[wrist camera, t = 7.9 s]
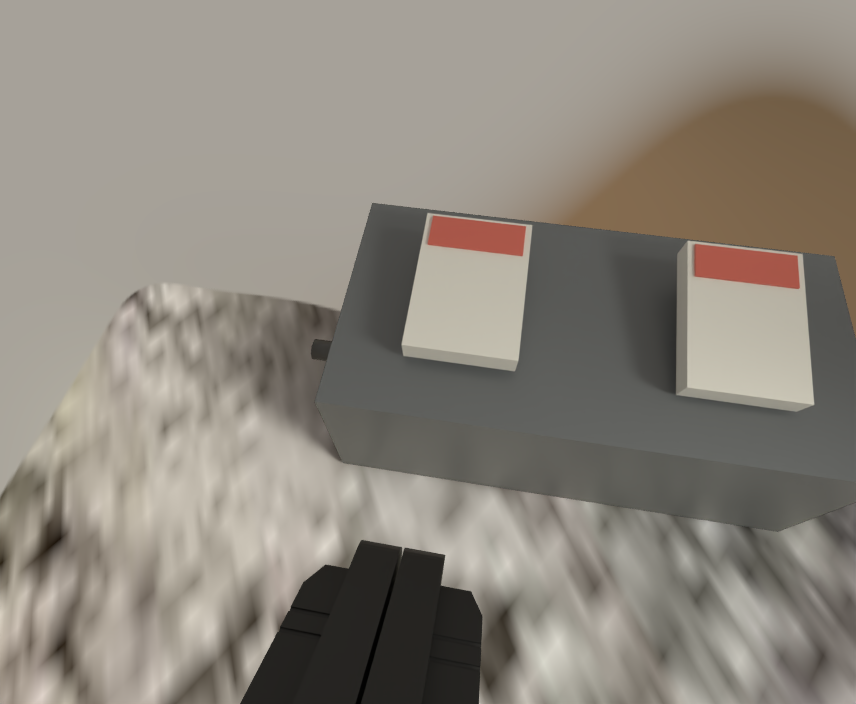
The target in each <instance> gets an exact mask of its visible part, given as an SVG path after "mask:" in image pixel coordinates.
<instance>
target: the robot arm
mask: <svg viewBox="0 0 856 704" xmlns="http://www.w3.org/2000/svg"><path fill="white" fill-rule="evenodd" d="M401 558H402V559H401ZM444 560H445V555H443V554H437V553H432V552H426V551H421V550H415V549H409V548H405V549H404V552H403V555H402V547H397V546H392V545H386V544H381V543H375V542H370V541H364V540H361V542H360V543H359V546H358V548H357V550H356V553H355V555H354V558H353V560H352V562H351V565H350V567H349V569H347V568H341V567H336V566H331V565H324V566H323V567H322V568H321V569H320V570H318V571H317V572H316V573H315V574H313V575H312V576H311V577H310V578H308V579H307V580H306V581H305V582H303V584H302V586H301V588H300V590H299V592H298V594H297V596H296V598H295V600H294V602H293V603H292V605H291V609H290V611H288V613H287V615H286V617H285V619H284V621H283V623H282V625H281V627H280V631H279V632H277V634H276V636H275V638H274V640H273V642H272V644H271V646H270V648H269V650H268V651H267V653H266V655H265V657H264V659H263V661H262V663H261V665H260V667H259V669H258V671H257V673H256V674H255V676H254V678H253V680H252V682H251V684H250V686H249V688H248V690H247V692H246V694H245V696H244V697H243V699H242V701H241V703H240V704H479V684H480V661H481V638H482V614H481V612H480V610H479V608H478V605H477V603H476V601H475V599H474V597H473V595H472V592H471V591H466V590H460V589H455V588H450V587H444V586H441V581H442V574H443V567H444Z"/></svg>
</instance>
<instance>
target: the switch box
mask: <svg viewBox="0 0 856 704" xmlns="http://www.w3.org/2000/svg"><path fill="white" fill-rule="evenodd" d="M427 213H432V214H441V215H449V216H458V217H467V218H475V219H484V220H493V221H501V222H510V223H518V224H527V225H532V235H531V244H530V254H529V264H528V273H527V283H526V293H525V302H524V312H523V322H522V331H521V341H520V350H519V360H518V364H517V367H516V370H515V371H508V370H501V369H494V368H487V367H480V366H473V365H465V364H458V363H451V362H444V361H437V360H430V359H422V358H415V357H408V356H403V351H402V345H401V344H402V339H403V334H404V329H405V324H406V319H407V314H408V309H409V304H410V299H411V294H412V289H413V284H414V279H415V274H416V269H417V264H418V259H419V254H420V249H421V244H422V239H423V234H424V229H425V223H426V218H427ZM687 241H695V242H704V243H712V244H721V245H730V246H738V247H747V248H756V249H764V250H773V251H782V252H790V253H799V254H803V265H804V278H805V291H806V304H807V317H808V330H809V343H810V356H811V369H812V382H813V396H814V405H813V406H810V407H807V408H805V409H802V410H800V411H797V412H795V411H787V410H780V409H773V408H766V407H759V406H752V405H744V404H737V403H730V402H723V401H716V400H709V399H701V398H694V397H687V396H680V395H676V334H677V254H678V252H679V251H680V250H681V249H682V247H683V246H684V245H685V243H686V242H687ZM311 356H312V359H316V360H323V361H326V365H325V368H324V372H323V375H322V378H321V382H320V385H319V389H318V392H317V396H316V399H315V403H316V405H317V408H318V410H319V412H320V414H321V416H322V419H323V421H324V423H325V425H326V427H327V430H328V432H329V434H330V436H331V438H332V440H333V443H334V445H335V447H336V449H337V451H338V454H339V456H340V458H341V460H342V462H343V463H347V464H353V465H360V466H366V467H372V468H379V469H385V470H391V471H398V472H404V473H410V474H417V475H423V476H429V477H436V478H442V479H448V480H455V481H461V482H467V483H474V484H480V485H486V486H493V487H499V488H505V489H512V490H518V491H524V492H531V493H537V494H543V495H550V496H556V497H562V498H569V499H575V500H581V501H587V502H594V503H600V504H606V505H613V506H619V507H625V508H632V509H638V510H644V511H651V512H657V513H663V514H670V515H676V516H682V517H689V518H695V519H701V520H708V521H714V522H720V523H727V524H733V525H739V526H746V527H752V528H758V529H765V530H771V531H777V532H778V531H781V530H783V529H786V528H789V527H791V526H794V525H797V524H799V523H802V522H805V521H807V520H810V519H813V518H815V517H818V516H821V515H823V514H826V513H829V512H831V511H834V510H837V509H839V508H842V507H845V506H847V505H850V504H853V503H855V502H856V338H855V334H854V330H853V326H852V322H851V319H850V315H849V311H848V307H847V303H846V299H845V295H844V291H843V288H842V284H841V280H840V276H839V273H838V268H837V265H836V260H835V257H834V256H827V255H819V254H809V253H801V252H793V251H784V250H775V249H766V248H758V247H749V246H741V245H740V246H739V245H732V244H723V243H715V242H706V241H696V240H689V239H680V238H670V237H662V236H654V235H645V234H637V233H628V232H619V231H610V230H602V229H593V228H585V227H576V226H567V225H558V224H549V223H540V222H532V221H523V220H515V219H505V218H497V217H488V216H481V215H471V214H463V213H455V212H445V211H437V210H429V209H420V208H411V207H403V206H394V205H385V204H376V203H372V206H371V210H370V213H369V216H368V220H367V223H366V227H365V230H364V234H363V237H362V240H361V244H360V248H359V251H358V254H357V258H356V261H355V265H354V268H353V272H352V275H351V279H350V282H349V285H348V289H347V293H346V296H345V299H344V303H343V306H342V309H341V313H340V316H339V320H338V323H337V327H336V330H335V334H334V337H333V341H325V340H317V339H315V340H314V342H313V345H312V350H311Z"/></svg>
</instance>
